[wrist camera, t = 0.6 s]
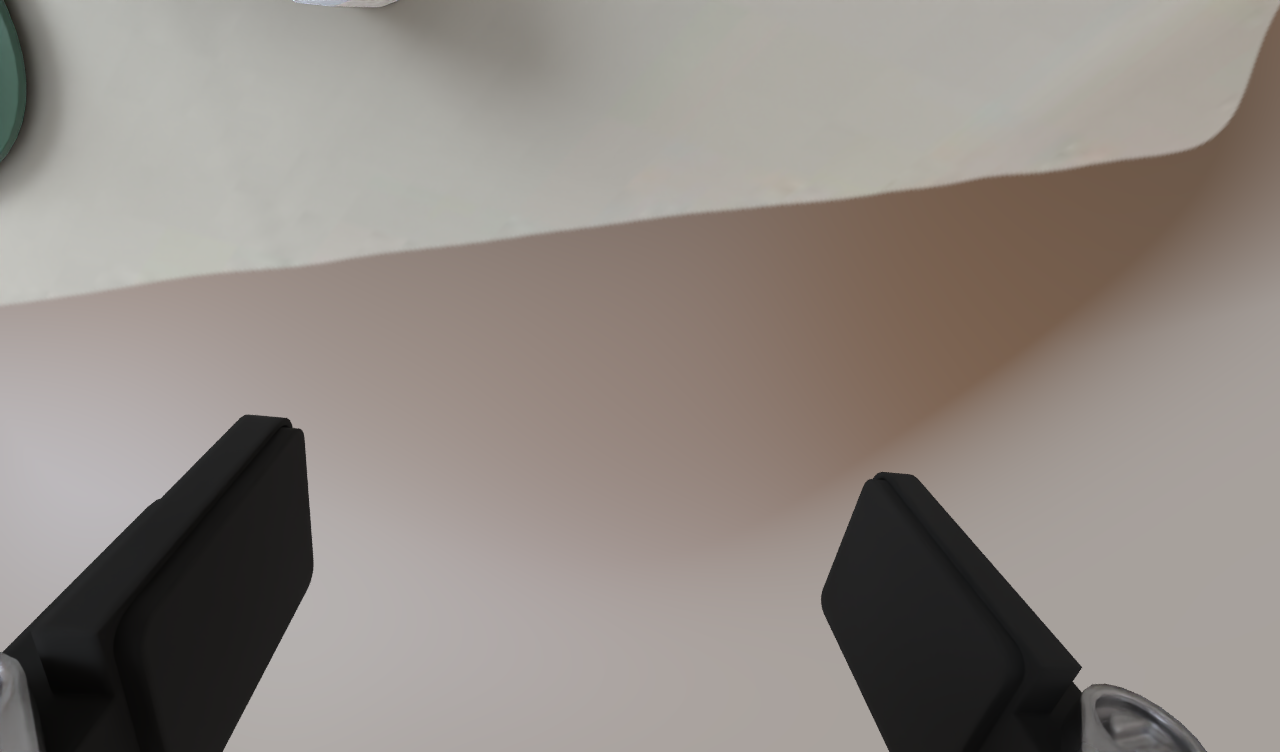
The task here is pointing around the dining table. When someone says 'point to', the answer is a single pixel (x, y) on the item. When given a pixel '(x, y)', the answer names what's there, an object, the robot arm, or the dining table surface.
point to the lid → (10, 83)
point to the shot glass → (348, 3)
